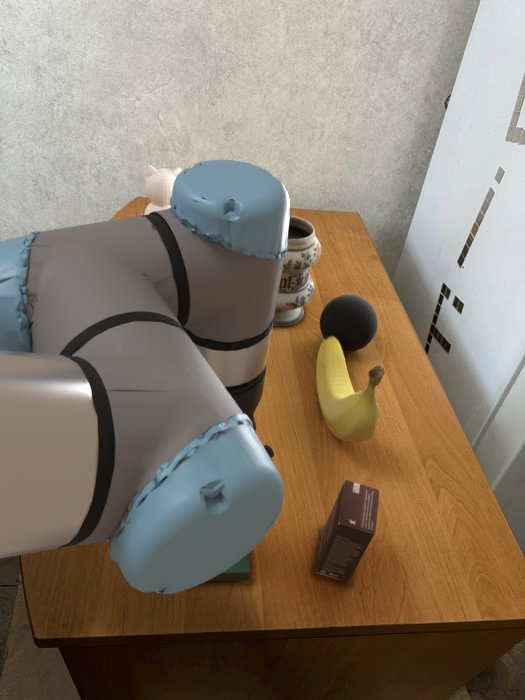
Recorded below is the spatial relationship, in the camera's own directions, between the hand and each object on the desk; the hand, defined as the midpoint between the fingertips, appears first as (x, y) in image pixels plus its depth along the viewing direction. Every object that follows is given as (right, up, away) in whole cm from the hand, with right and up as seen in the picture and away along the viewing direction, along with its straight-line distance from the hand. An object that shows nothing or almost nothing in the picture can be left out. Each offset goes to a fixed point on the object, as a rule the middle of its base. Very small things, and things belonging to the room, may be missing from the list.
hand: (210, 508), depth 59 cm
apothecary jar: (+9, +25, +43) cm, 50 cm away
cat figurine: (-16, +42, +57) cm, 73 cm away
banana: (+17, +7, +25) cm, 31 cm away
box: (+15, -8, +8) cm, 19 cm away
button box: (-1, -7, +6) cm, 9 cm away
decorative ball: (+20, +19, +37) cm, 46 cm away
